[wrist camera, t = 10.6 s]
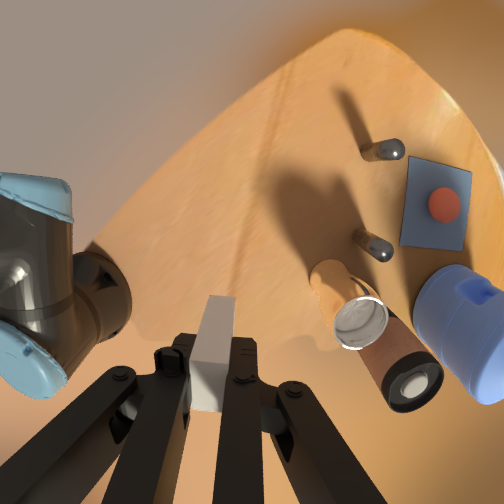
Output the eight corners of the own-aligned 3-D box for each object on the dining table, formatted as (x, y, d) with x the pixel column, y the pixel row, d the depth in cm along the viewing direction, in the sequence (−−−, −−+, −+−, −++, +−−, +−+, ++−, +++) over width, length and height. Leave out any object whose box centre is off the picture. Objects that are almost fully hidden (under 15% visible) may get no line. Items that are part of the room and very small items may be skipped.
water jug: (442, 351, 49) (520, 439, 22) (394, 322, 47) (484, 431, 20) (485, 286, 46) (582, 350, 19) (443, 246, 44) (567, 310, 17)
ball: (456, 223, 41) (426, 218, 44) (460, 190, 39) (430, 185, 42) (459, 227, 36) (426, 221, 39) (463, 190, 35) (429, 184, 38)
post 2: (351, 244, 43) (373, 261, 35) (353, 227, 43) (377, 240, 34) (366, 246, 44) (391, 262, 35) (369, 229, 43) (395, 242, 34)
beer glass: (329, 307, 46) (359, 360, 31) (297, 282, 45) (317, 331, 30) (359, 274, 45) (401, 316, 30) (327, 246, 44) (363, 281, 29)
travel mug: (386, 325, 47) (443, 397, 28) (345, 340, 48) (388, 423, 28) (380, 286, 45) (446, 350, 26) (337, 302, 46) (385, 379, 26)
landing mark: (398, 245, 44) (399, 245, 43) (409, 156, 40) (409, 156, 40) (461, 251, 44) (462, 251, 44) (471, 172, 40) (472, 172, 40)
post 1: (360, 160, 40) (386, 157, 32) (361, 142, 40) (387, 136, 31) (376, 162, 40) (404, 161, 32) (377, 145, 40) (405, 140, 31)
